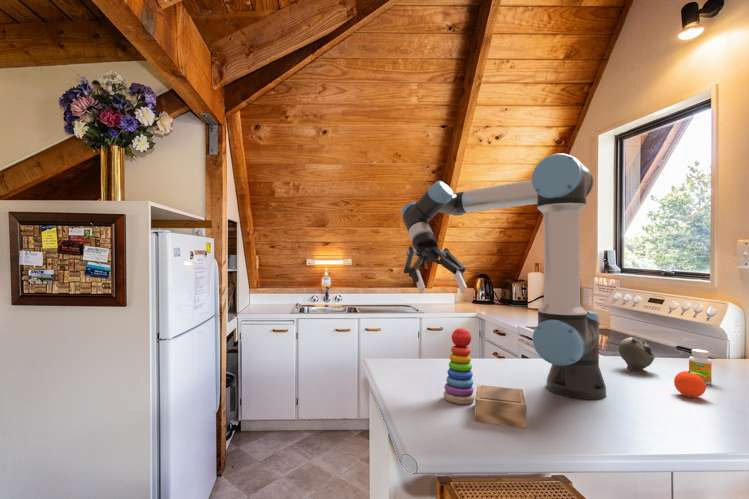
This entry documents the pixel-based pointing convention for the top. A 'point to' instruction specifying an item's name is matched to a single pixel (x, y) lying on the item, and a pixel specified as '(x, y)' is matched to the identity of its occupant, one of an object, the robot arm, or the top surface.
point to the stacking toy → (460, 370)
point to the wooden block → (500, 406)
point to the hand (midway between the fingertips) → (443, 290)
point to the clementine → (690, 384)
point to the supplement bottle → (701, 364)
